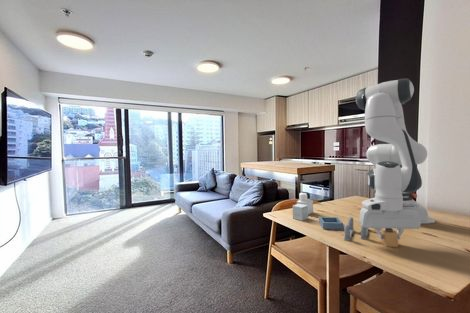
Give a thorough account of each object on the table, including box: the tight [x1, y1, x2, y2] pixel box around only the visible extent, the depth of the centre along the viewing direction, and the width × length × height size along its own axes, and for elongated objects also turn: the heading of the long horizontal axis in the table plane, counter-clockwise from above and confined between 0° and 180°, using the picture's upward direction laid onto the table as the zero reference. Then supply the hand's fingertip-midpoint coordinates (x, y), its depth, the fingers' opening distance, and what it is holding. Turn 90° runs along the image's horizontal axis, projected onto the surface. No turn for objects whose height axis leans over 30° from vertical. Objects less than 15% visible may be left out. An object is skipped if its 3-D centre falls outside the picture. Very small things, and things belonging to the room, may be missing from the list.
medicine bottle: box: [296, 191, 314, 216], centre depth 130 cm, size 7×7×12 cm
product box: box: [292, 203, 309, 222], centre depth 120 cm, size 6×6×7 cm
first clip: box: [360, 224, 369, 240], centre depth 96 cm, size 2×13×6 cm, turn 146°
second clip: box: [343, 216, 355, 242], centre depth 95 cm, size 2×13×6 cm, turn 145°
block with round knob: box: [380, 228, 399, 247], centre depth 85 cm, size 4×4×6 cm
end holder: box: [318, 216, 344, 231], centre depth 107 cm, size 9×9×3 cm
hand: (389, 238), depth 85 cm, fingers closed on block with round knob, 4 cm apart
